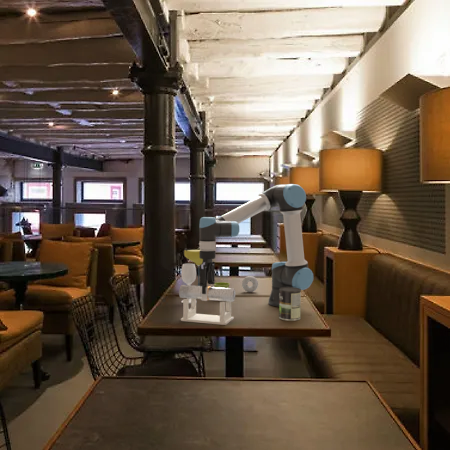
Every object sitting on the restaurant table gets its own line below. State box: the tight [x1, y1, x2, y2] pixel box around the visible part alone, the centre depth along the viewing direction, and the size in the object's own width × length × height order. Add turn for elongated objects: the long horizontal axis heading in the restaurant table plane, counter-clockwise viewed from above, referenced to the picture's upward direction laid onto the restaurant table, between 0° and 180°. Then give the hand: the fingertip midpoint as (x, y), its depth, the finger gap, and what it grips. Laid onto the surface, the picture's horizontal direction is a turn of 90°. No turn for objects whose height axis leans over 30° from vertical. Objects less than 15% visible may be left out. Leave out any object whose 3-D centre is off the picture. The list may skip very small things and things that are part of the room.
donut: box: [241, 275, 259, 293], centre depth 298 cm, size 10×4×10 cm, turn 88°
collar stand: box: [180, 298, 235, 326], centre depth 229 cm, size 22×12×10 cm, turn 71°
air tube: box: [178, 284, 236, 303], centre depth 228 cm, size 26×6×6 cm, turn 71°
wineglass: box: [180, 263, 197, 305], centre depth 268 cm, size 9×9×21 cm
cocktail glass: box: [183, 248, 203, 286], centre depth 306 cm, size 18×18×25 cm
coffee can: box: [278, 287, 302, 322], centre depth 232 cm, size 10×10×14 cm
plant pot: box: [213, 281, 231, 288], centre depth 278 cm, size 9×9×9 cm
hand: (207, 299), depth 228 cm, fingers closed on air tube, 6 cm apart
